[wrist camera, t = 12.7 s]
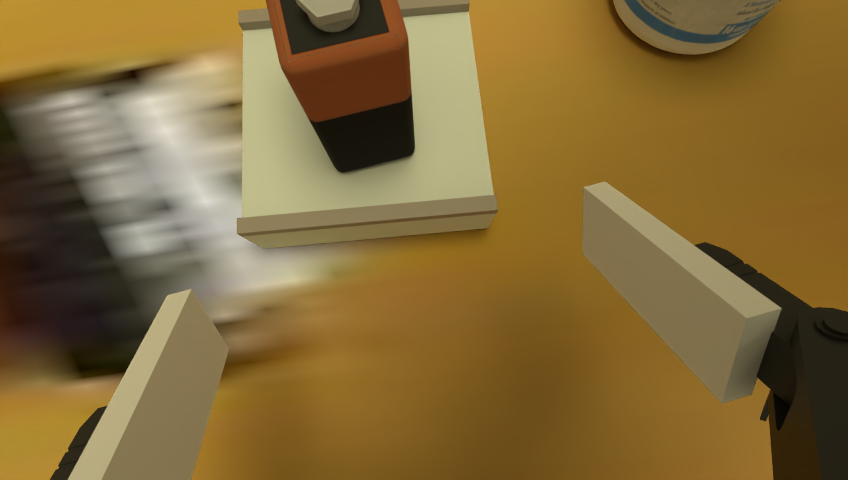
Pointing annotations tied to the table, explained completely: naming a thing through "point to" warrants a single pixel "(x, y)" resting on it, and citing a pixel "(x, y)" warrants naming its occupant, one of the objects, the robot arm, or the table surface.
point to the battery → (349, 75)
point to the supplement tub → (691, 22)
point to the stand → (379, 184)
